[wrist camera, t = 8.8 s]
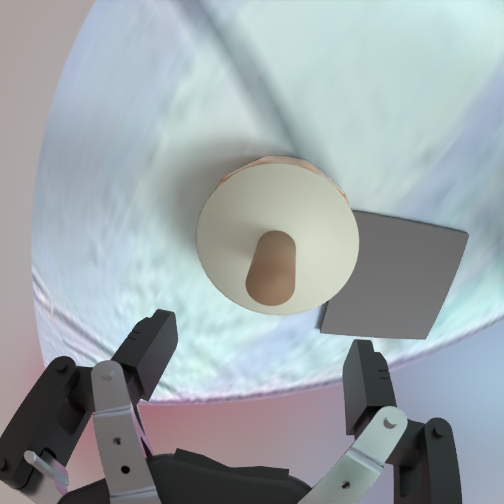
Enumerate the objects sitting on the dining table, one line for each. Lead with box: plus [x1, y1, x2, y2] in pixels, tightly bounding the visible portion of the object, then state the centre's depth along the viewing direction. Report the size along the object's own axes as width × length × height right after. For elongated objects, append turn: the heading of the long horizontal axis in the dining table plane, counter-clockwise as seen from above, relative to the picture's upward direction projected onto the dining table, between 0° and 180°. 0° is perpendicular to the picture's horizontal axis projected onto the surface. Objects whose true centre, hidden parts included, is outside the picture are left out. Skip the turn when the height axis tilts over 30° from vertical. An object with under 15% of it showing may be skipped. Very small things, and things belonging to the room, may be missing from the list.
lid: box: [196, 163, 359, 315], centre depth 18 cm, size 12×12×6 cm
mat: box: [320, 210, 469, 339], centre depth 26 cm, size 14×14×1 cm
